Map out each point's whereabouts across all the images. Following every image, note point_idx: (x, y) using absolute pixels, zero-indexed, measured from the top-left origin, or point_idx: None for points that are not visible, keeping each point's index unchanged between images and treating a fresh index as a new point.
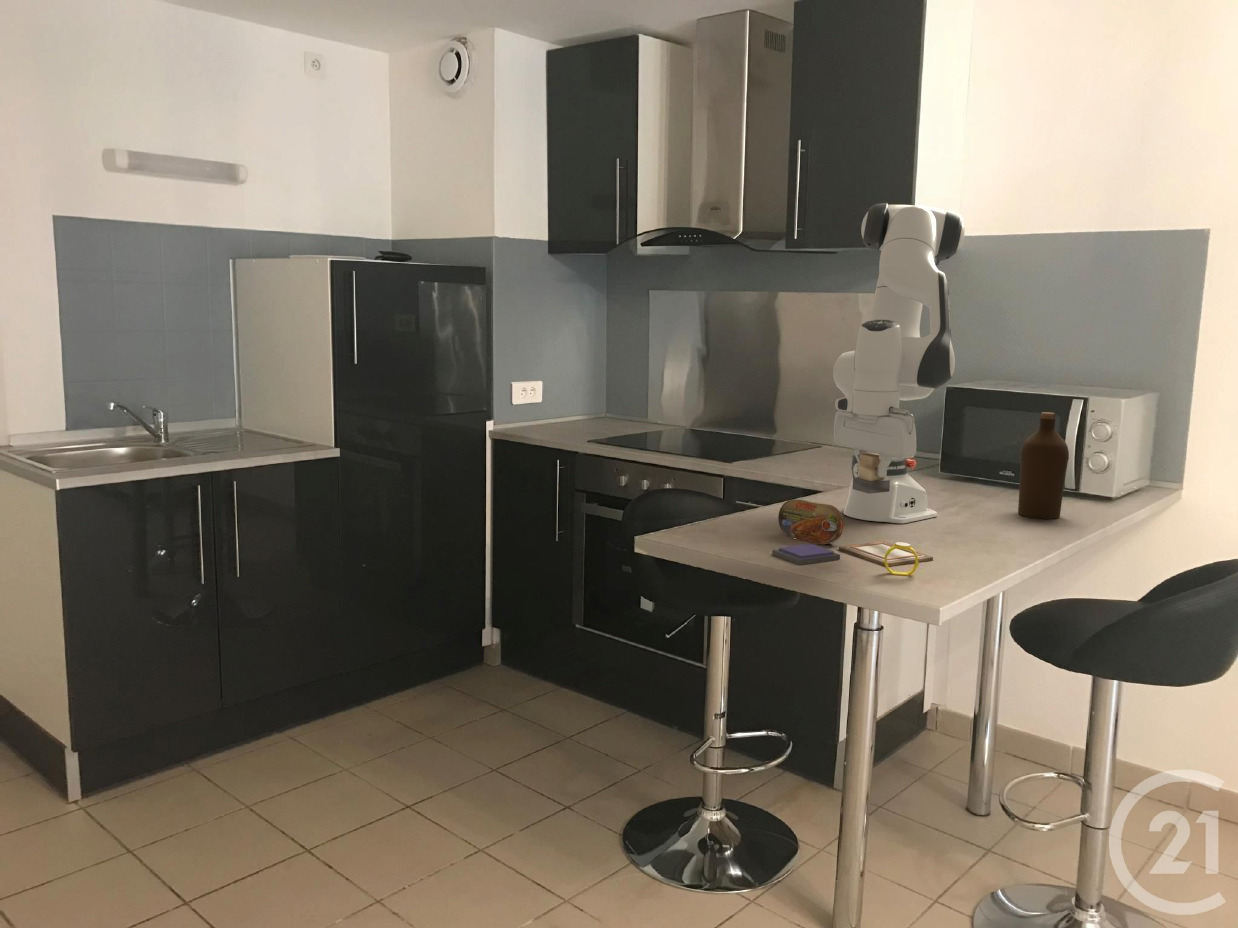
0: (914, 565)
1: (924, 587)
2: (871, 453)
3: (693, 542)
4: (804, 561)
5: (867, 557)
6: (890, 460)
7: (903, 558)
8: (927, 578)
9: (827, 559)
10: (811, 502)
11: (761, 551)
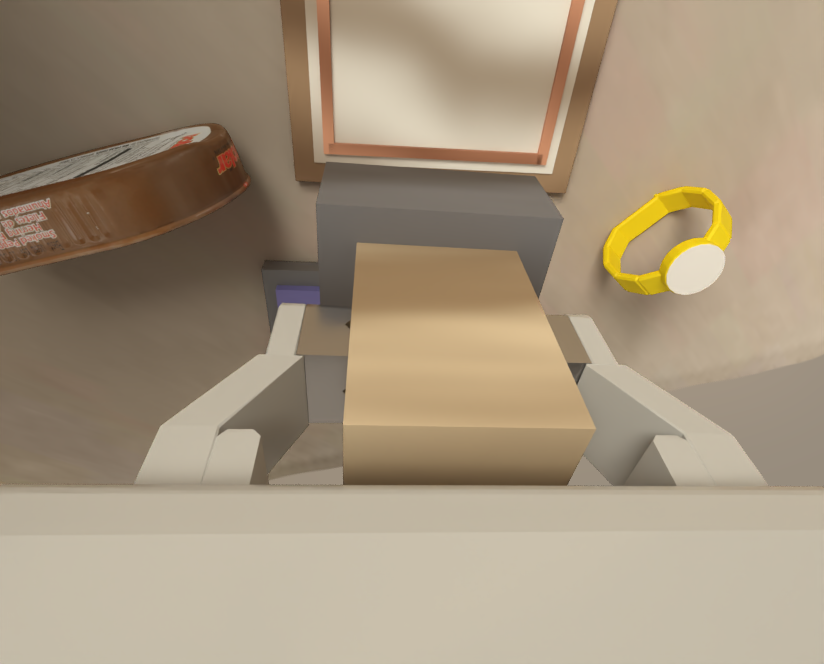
0: (695, 196)
1: (757, 258)
2: (366, 462)
3: (107, 464)
4: None
5: None
6: (713, 441)
7: (569, 77)
8: (732, 175)
9: None
10: (8, 241)
11: None
